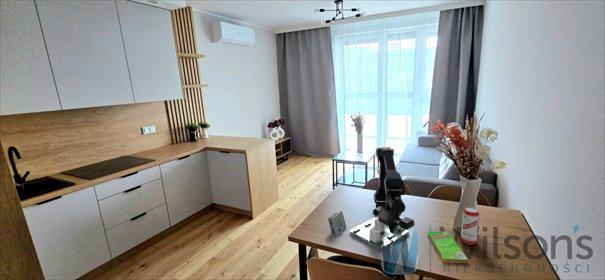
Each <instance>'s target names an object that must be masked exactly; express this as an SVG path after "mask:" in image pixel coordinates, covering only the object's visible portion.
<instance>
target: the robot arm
mask: <svg viewBox="0 0 605 280" xmlns="http://www.w3.org/2000/svg"><path fill="white" fill-rule="evenodd" d="M375 156H376V158H377V160H378V162H379V168H378V169H379V171H378V185H377V186H376V188H375V192H374V193H373V202H374V204H375V208H373V210H372V215H373V216H374V217H378V219H379V222H382V223H384V224H385V225H388V227H389V230H390V233H391V234H394V232H395V230H396V228H397V226H398V225H399V226H400V227H401V228H403V229H405V230H408V231H409V230H410V229H412V228H413V227H414V226H415V220H414V219H412V218H410V217H407V216H406V217H402V213H404V212H405V210H406V204H405V202H404V201H403V199H402V196H405V195H406V193H405V192H406V186H405V182H404V180H403V178H402V176H401V174H400V173H399V172H398V171H397V168H396V164H395V159H394V156H395V149H394V148H391V147H390V146H379V147H378V148H376V149H375Z"/></svg>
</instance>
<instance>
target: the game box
mask: <svg viewBox="0 0 605 280" xmlns="http://www.w3.org/2000/svg"><path fill="white" fill-rule="evenodd" d="M427 233H428V236H427V237H428V239H429V240H430V242H431V244H432V245H433V247H434V250H435V251H436V253H437V254H438V257H439V258H440V260H441V262H442V263H449V264H450V263H453V264H469V259H468V257H467V255H465V253H464V252H463V250H462V249H461V248H460V246H459V245H458V244H457V242H456V241H455V239H454V238H453V236H452V235H451V233H449V231H430V230H429V231H427Z"/></svg>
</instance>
